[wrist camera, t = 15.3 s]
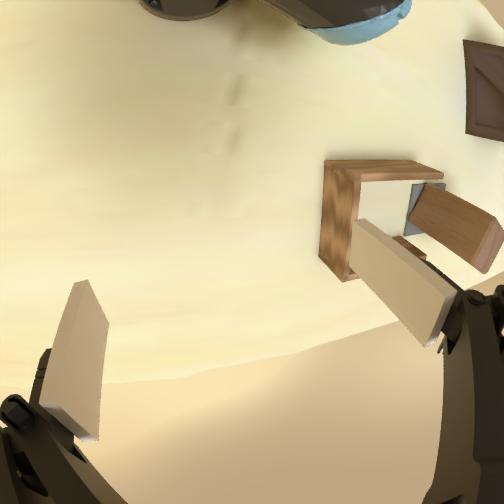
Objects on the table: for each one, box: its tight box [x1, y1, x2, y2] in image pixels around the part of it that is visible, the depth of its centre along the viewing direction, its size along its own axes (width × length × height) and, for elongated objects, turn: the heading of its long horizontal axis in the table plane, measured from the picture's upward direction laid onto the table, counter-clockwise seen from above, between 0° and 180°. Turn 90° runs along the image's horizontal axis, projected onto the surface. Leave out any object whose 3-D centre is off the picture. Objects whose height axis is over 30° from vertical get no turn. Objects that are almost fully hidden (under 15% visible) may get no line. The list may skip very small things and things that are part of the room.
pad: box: [403, 183, 446, 236], centre depth 57 cm, size 12×12×1 cm
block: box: [409, 184, 504, 274], centre depth 48 cm, size 10×10×20 cm
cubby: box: [319, 160, 444, 282], centre depth 48 cm, size 18×21×9 cm
